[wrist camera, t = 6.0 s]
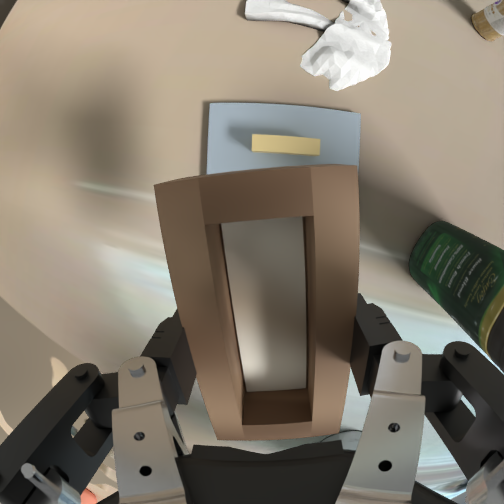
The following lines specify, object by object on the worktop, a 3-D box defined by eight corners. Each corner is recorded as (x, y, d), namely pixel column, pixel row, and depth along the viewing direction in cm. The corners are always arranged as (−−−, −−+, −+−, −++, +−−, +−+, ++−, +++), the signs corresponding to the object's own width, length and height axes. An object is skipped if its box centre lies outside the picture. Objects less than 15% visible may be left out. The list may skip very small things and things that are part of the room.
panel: (344, 273, 28) (352, 285, 25) (207, 265, 29) (200, 277, 26) (358, 115, 23) (368, 109, 20) (211, 104, 24) (204, 97, 21)
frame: (330, 392, 14) (338, 433, 11) (224, 399, 14) (217, 439, 12) (333, 163, 10) (357, 165, 7) (182, 177, 11) (153, 185, 8)
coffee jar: (395, 268, 27) (499, 378, 10) (433, 208, 25) (568, 264, 7) (443, 305, 28) (530, 400, 11) (477, 253, 26) (582, 321, 8)
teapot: (61, 480, 62) (51, 499, 50) (51, 467, 57) (39, 487, 45) (107, 504, 62) (99, 525, 50) (102, 494, 58) (91, 517, 46)
